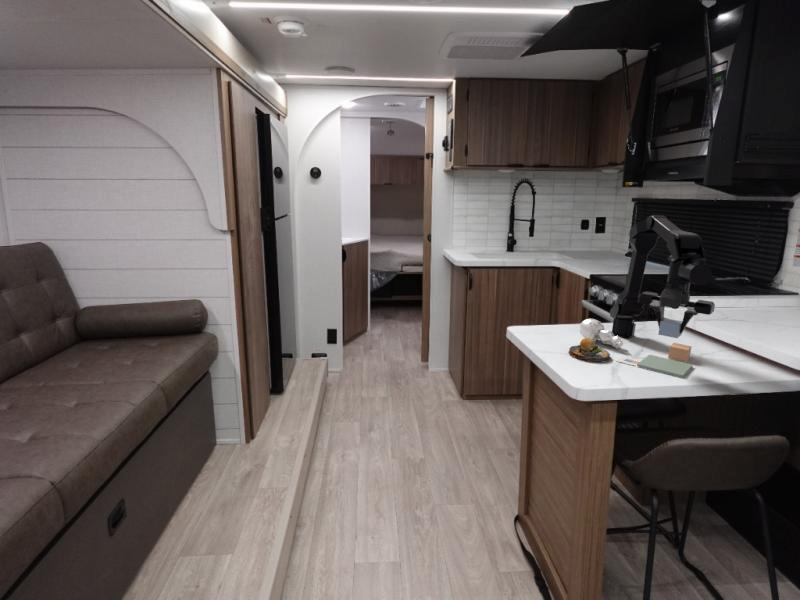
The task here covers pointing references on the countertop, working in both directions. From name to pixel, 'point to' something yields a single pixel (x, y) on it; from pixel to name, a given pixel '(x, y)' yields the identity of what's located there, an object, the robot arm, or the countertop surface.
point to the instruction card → (629, 361)
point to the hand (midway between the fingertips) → (670, 331)
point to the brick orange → (679, 352)
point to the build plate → (665, 366)
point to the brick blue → (670, 328)
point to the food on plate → (589, 351)
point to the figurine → (599, 333)
